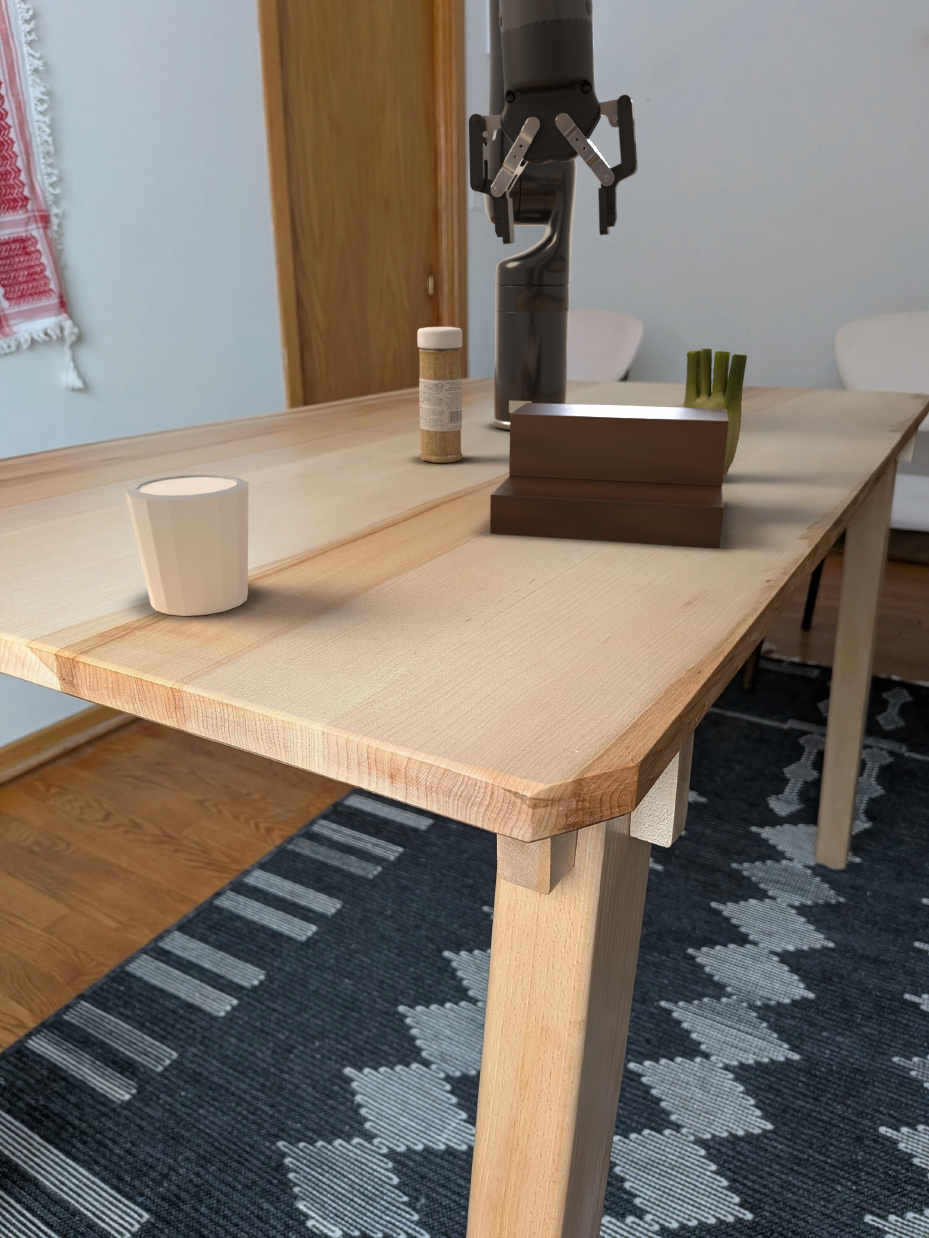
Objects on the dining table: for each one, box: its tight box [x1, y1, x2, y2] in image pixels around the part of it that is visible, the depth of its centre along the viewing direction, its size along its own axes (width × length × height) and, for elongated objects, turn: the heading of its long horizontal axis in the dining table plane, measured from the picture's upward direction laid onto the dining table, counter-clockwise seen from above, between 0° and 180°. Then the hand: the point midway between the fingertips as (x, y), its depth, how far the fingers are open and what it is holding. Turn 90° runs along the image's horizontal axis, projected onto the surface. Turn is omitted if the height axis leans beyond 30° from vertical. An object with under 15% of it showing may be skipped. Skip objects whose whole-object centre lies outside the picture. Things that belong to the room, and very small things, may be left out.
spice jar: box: [416, 326, 463, 464], centre depth 95 cm, size 5×5×14 cm
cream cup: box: [124, 474, 249, 617], centre depth 54 cm, size 7×7×7 cm
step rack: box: [489, 403, 729, 549], centre depth 72 cm, size 14×17×8 cm
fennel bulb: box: [682, 348, 748, 478], centre depth 86 cm, size 6×5×12 cm
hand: (555, 239), depth 81 cm, fingers open, 8 cm apart
